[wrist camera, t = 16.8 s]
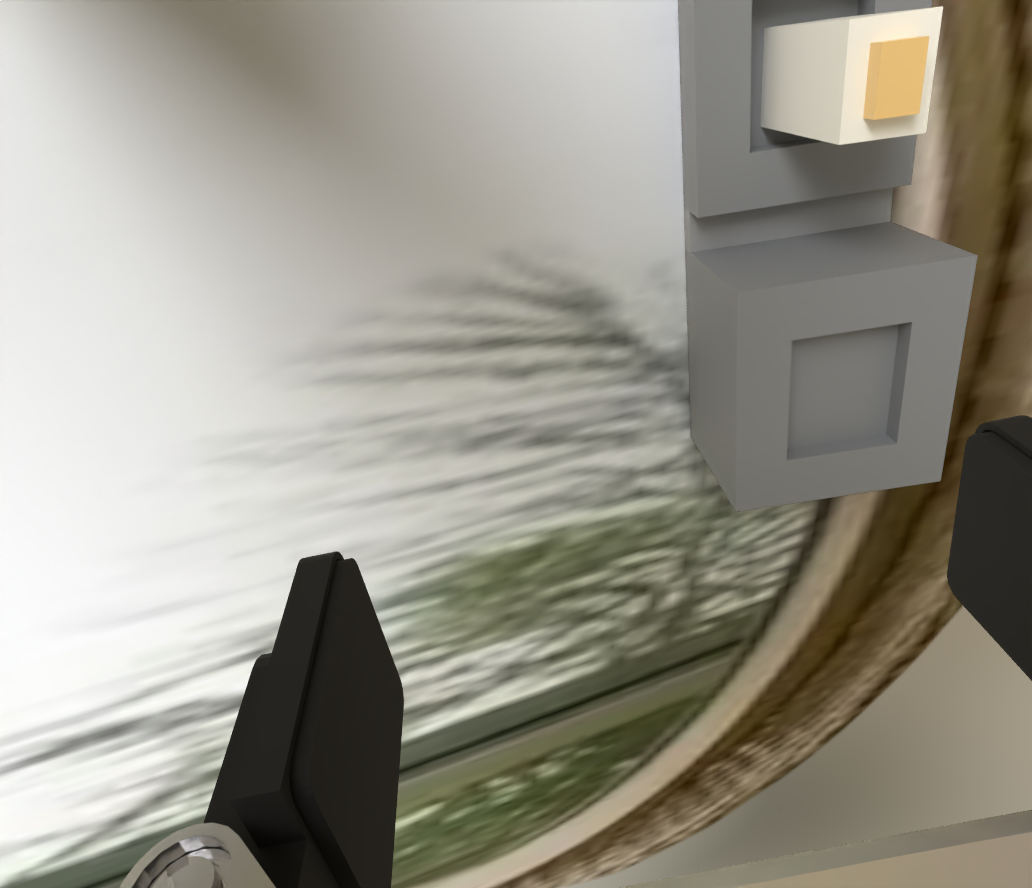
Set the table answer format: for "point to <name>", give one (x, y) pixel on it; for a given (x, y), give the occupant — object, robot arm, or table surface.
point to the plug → (851, 76)
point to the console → (806, 283)
